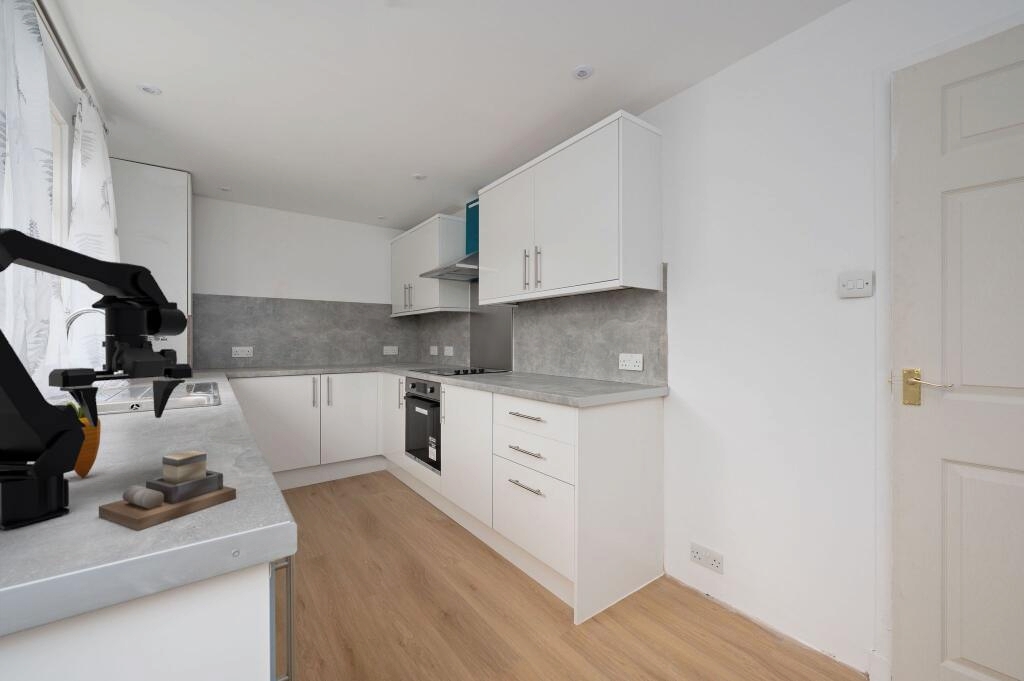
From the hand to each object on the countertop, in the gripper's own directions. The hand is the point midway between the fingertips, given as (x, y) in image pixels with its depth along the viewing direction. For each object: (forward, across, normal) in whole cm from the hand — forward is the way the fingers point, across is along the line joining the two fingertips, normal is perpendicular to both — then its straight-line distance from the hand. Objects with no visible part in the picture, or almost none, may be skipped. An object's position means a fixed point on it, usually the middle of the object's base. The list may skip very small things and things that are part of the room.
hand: (128, 422), depth 77 cm
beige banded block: (+10, -1, -20) cm, 22 cm away
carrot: (+11, -2, +12) cm, 17 cm away
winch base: (+11, -3, -20) cm, 23 cm away
